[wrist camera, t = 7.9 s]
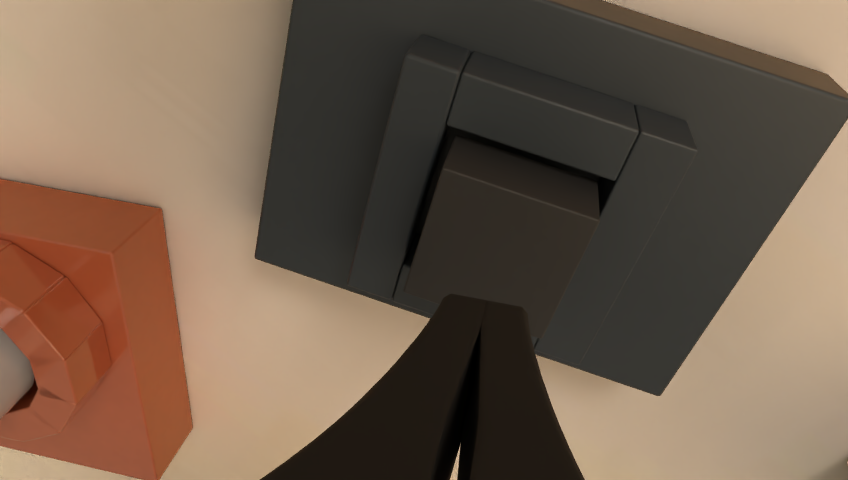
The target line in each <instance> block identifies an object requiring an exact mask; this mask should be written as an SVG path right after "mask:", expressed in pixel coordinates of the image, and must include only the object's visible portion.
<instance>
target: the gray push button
mask: <svg viewBox="0 0 848 480" xmlns="http://www.w3.org/2000/svg"><path fill="white" fill-rule="evenodd" d="M33 383H34V374H33V371H32V368H31V365H30V361H29V360H28V359H27V357H26V356H25V355H24V354H23V353H22V352H21V351H20V349H19V348H18V347H17V346H16V345H15V344H14V343H13V341H12V340H11V339H10V338H9V337H8V336H7V335H6V334H5V332H4V331H3V330H2V329H0V420H1V419H2V418H3V417H4V416H5V415H6V414H7V413H8V412H9V411H10V410H11V409H12V408H13V407H14V406H15V405H16V404H17V403H18V402H19V401H20V399H21V398H22V397H23V396H24V395H25V394H26V393H27V392H28V391H29V390H30V389H31V387H32V386H33Z"/></svg>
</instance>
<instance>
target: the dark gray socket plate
mask: <svg viewBox="0 0 848 480" xmlns="http://www.w3.org/2000/svg"><path fill="white" fill-rule="evenodd" d="M847 119H848V93H847V92H846V91H844V90H843V89H842V88H841V87H840V86H839V85H838V84H837V83H836V82H835V81H834V80H833V79H832V78H831V77H830V76H829V75H827V74H824V73H821V72H818V71H815V70H812V69H809V68H806V67H803V66H800V65H797V64H794V63H791V62H788V61H785V60H782V59H779V58H776V57H773V56H770V55H766V54H763V53H760V52H757V51H754V50H751V49H748V48H745V47H742V46H739V45H736V44H733V43H730V42H727V41H724V40H721V39H718V38H715V37H712V36H709V35H705V34H702V33H699V32H696V31H693V30H690V29H687V28H684V27H681V26H678V25H675V24H672V23H669V22H666V21H663V20H660V19H657V18H654V17H651V16H648V15H644V14H641V13H638V12H635V11H632V10H629V9H626V8H623V7H620V6H617V5H614V4H611V3H608V2H605V1H602V0H293V2H292V9H291V16H290V23H289V29H288V36H287V43H286V49H285V56H284V63H283V69H282V76H281V83H280V90H279V96H278V103H277V110H276V116H275V123H274V130H273V136H272V143H271V150H270V156H269V163H268V170H267V177H266V183H265V190H264V197H263V203H262V210H261V217H260V223H259V230H258V237H257V243H256V250H255V258H256V259H258V260H261V261H264V262H266V263H269V264H272V265H275V266H278V267H281V268H284V269H287V270H290V271H293V272H296V273H299V274H302V275H305V276H307V277H310V278H313V279H316V280H319V281H322V282H325V283H328V284H331V285H334V286H337V287H340V288H343V289H346V290H348V291H351V292H354V293H357V294H360V295H363V296H366V297H369V298H372V299H375V300H378V301H381V302H384V303H387V304H390V305H392V306H395V307H398V308H401V309H404V310H407V311H410V312H413V313H416V314H419V315H422V316H425V317H428V318H432V316H433V315H434V313H435V312H436V310H437V308H438V307H439V304H436V303H433V302H430V301H427V300H425V299H422V298H419V297H416V296H413V295H410V294H407V293H405V292H404V287H405V284H406V281H407V277H408V274H409V271H410V268H411V265H412V262H413V258H414V255H415V252H416V249H417V246H418V243H419V240H420V236H421V233H422V230H423V227H424V224H425V221H426V218H427V214H428V211H429V208H430V205H431V202H432V199H433V195H434V192H435V189H436V186H437V183H438V180H439V177H440V173H441V170H442V167H443V165H444V163H445V160H446V158H447V155H448V153H449V150H450V148H451V145H452V143H453V140H454V138H455V136H456V135H460V136H463V137H466V138H469V139H472V140H475V141H478V142H481V143H484V144H487V145H490V146H493V147H496V148H499V149H502V150H505V151H508V152H511V153H514V154H517V155H520V156H523V157H526V158H529V159H532V160H535V161H538V162H541V163H544V164H547V165H550V166H553V167H556V168H559V169H562V170H565V171H568V172H571V173H574V174H577V175H580V176H583V177H586V178H589V179H592V180H595V181H597V182H598V198H599V215H600V222H599V224H598V226H597V228H596V230H595V232H594V234H593V236H592V238H591V241H590V243H589V245H588V247H587V249H586V251H585V253H584V255H583V257H582V259H581V261H580V263H579V265H578V267H577V269H576V271H575V273H574V275H573V277H572V279H571V281H570V283H569V285H568V287H567V289H566V291H565V293H564V295H563V297H562V299H561V301H560V303H559V305H558V307H557V309H556V311H555V313H554V315H553V317H552V319H551V321H550V323H549V325H548V327H547V329H546V331H545V333H544V335H543V337H542V338H541V339H539V338H536V337H533V336H531V339H532V344H533V348H534V351H535V354H536V355H539V356H542V357H545V358H548V359H551V360H554V361H557V362H559V363H562V364H565V365H568V366H571V367H574V368H577V369H580V370H583V371H586V372H589V373H592V374H595V375H598V376H600V377H603V378H606V379H609V380H612V381H615V382H618V383H621V384H624V385H627V386H630V387H633V388H636V389H639V390H641V391H644V392H647V393H650V394H653V395H656V396H660V395H661V394H662V393H663V391H664V390H665V388H666V387H667V385H668V384H669V382H670V381H671V379H672V378H673V376H674V375H675V373H676V372H677V370H678V369H679V368H680V366H681V365H682V363H683V362H684V360H685V359H686V357H687V356H688V354H689V353H690V351H691V350H692V348H693V347H694V345H695V344H696V342H697V341H698V339H699V338H700V336H701V335H702V334H703V332H704V331H705V329H706V328H707V326H708V325H709V323H710V322H711V320H712V319H713V317H714V316H715V314H716V313H717V311H718V310H719V308H720V307H721V305H722V304H723V302H724V301H725V299H726V298H727V297H728V295H729V294H730V292H731V291H732V289H733V288H734V286H735V285H736V283H737V282H738V280H739V279H740V277H741V276H742V274H743V273H744V271H745V270H746V268H747V267H748V265H749V264H750V262H751V261H752V260H753V258H754V257H755V255H756V254H757V252H758V251H759V249H760V248H761V246H762V245H763V243H764V242H765V240H766V239H767V237H768V236H769V234H770V233H771V231H772V230H773V228H774V227H775V225H776V224H777V223H778V221H779V220H780V218H781V217H782V215H783V214H784V212H785V211H786V209H787V208H788V206H789V205H790V203H791V202H792V200H793V199H794V197H795V196H796V194H797V193H798V191H799V190H800V188H801V187H802V186H803V184H804V183H805V181H806V180H807V178H808V177H809V175H810V174H811V172H812V171H813V169H814V168H815V166H816V165H817V163H818V162H819V160H820V159H821V157H822V156H823V154H824V153H825V152H826V150H827V149H828V147H829V146H830V144H831V143H832V141H833V140H834V138H835V137H836V135H837V134H838V132H839V131H840V129H841V128H842V126H843V125H844V123H845V122H846V120H847Z"/></svg>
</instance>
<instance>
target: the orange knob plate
mask: <svg viewBox="0 0 848 480" xmlns="http://www.w3.org/2000/svg"><path fill="white" fill-rule="evenodd" d="M0 329H2V330H3V331H4V332H5V334H6V335H7V336H8V337H9V338H10V339H11V340H12V341H13V343H14V344H15V345H16V346H17V347H18V348H19V349H20V351H21V352H22V353H23V354H24V355H25V356H26V357H27V359H28V360H29V361H30V365H31V368H32V371H33V374H34V383H33V386H32V387H31V389H30V390H29V391H28V392H27V393H26V394H25V395H24V396H23V397H22V398H21V399H20V401H19V402H18V403H17V404H16V405H15V406H14V407H13V408H12V409H11V410H10V411H9V412H8V413H7V414H6V415H5V416H4V417H3V418H2V419H1V420H0V446H2V447H7V448H11V449H15V450H19V451H24V452H28V453H32V454H36V455H40V456H45V457H49V458H53V459H57V460H62V461H66V462H70V463H74V464H78V465H83V466H87V467H91V468H95V469H100V470H104V471H108V472H112V473H116V474H121V475H125V476H129V477H133V478H138V479H142V480H159V479H160V478H161V476H162V475H163V473H164V472H165V470H166V469H167V467H168V465H169V464H170V462H171V461H172V459H173V458H174V456H175V455H176V453H177V452H178V450H179V449H180V447H181V445H182V444H183V442H184V441H185V439H186V438H187V436H188V435H189V433H190V432H191V430H192V428H193V425H192V418H191V411H190V404H189V397H188V390H187V383H186V376H185V369H184V362H183V355H182V348H181V341H180V334H179V327H178V320H177V313H176V306H175V299H174V291H173V284H172V277H171V270H170V263H169V256H168V249H167V242H166V235H165V228H164V221H163V214H162V209H160V208H156V207H150V206H145V205H139V204H134V203H129V202H123V201H118V200H112V199H107V198H102V197H96V196H91V195H85V194H80V193H74V192H69V191H64V190H58V189H53V188H47V187H42V186H37V185H31V184H26V183H20V182H15V181H9V180H4V179H0Z"/></svg>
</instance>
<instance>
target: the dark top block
mask: <svg viewBox="0 0 848 480" xmlns="http://www.w3.org/2000/svg"><path fill="white" fill-rule="evenodd" d="M599 222H600V215H599V198H598V182H597V181H595V180H592V179H589V178H586V177H583V176H580V175H577V174H574V173H571V172H568V171H565V170H562V169H559V168H556V167H553V166H550V165H547V164H544V163H541V162H538V161H535V160H532V159H529V158H526V157H523V156H520V155H517V154H514V153H511V152H508V151H505V150H502V149H499V148H496V147H493V146H490V145H487V144H484V143H481V142H478V141H475V140H472V139H469V138H466V137H463V136H460V135H456V136H455V138H454V140H453V143H452V145H451V148H450V150H449V153H448V155H447V158H446V160H445V163H444V165H443V167H442V170H441V173H440V177H439V180H438V183H437V186H436V189H435V192H434V195H433V199H432V202H431V205H430V208H429V211H428V214H427V218H426V221H425V224H424V227H423V230H422V233H421V236H420V240H419V243H418V246H417V249H416V252H415V255H414V258H413V262H412V265H411V268H410V271H409V274H408V277H407V281H406V284H405V287H404V292H405V293H407V294H410V295H413V296H416V297H419V298H422V299H425V300H427V301H430V302H433V303H436V304H439V305H440V303H441V301H442V300H443V298H444V297H445V296H447V295H449V294H457V295H462V296H467V297H472V298H478V299H483V300H488V301H493V302H499V303H504V304H509V305H514V306H520V307H523V308H524V310H525V311H526V312H527V314H528V322H529V329H530V334H531V336H533V337H536V338H539V339H541V338H542V337H543V335H544V333H545V331H546V329H547V327H548V325H549V323H550V321H551V319H552V317H553V315H554V313H555V311H556V309H557V307H558V305H559V303H560V301H561V299H562V297H563V295H564V293H565V291H566V289H567V287H568V285H569V283H570V281H571V279H572V277H573V275H574V273H575V271H576V269H577V267H578V265H579V263H580V261H581V259H582V257H583V255H584V253H585V251H586V249H587V247H588V245H589V243H590V241H591V238H592V236H593V234H594V232H595V230H596V228H597V226H598V224H599Z"/></svg>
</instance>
